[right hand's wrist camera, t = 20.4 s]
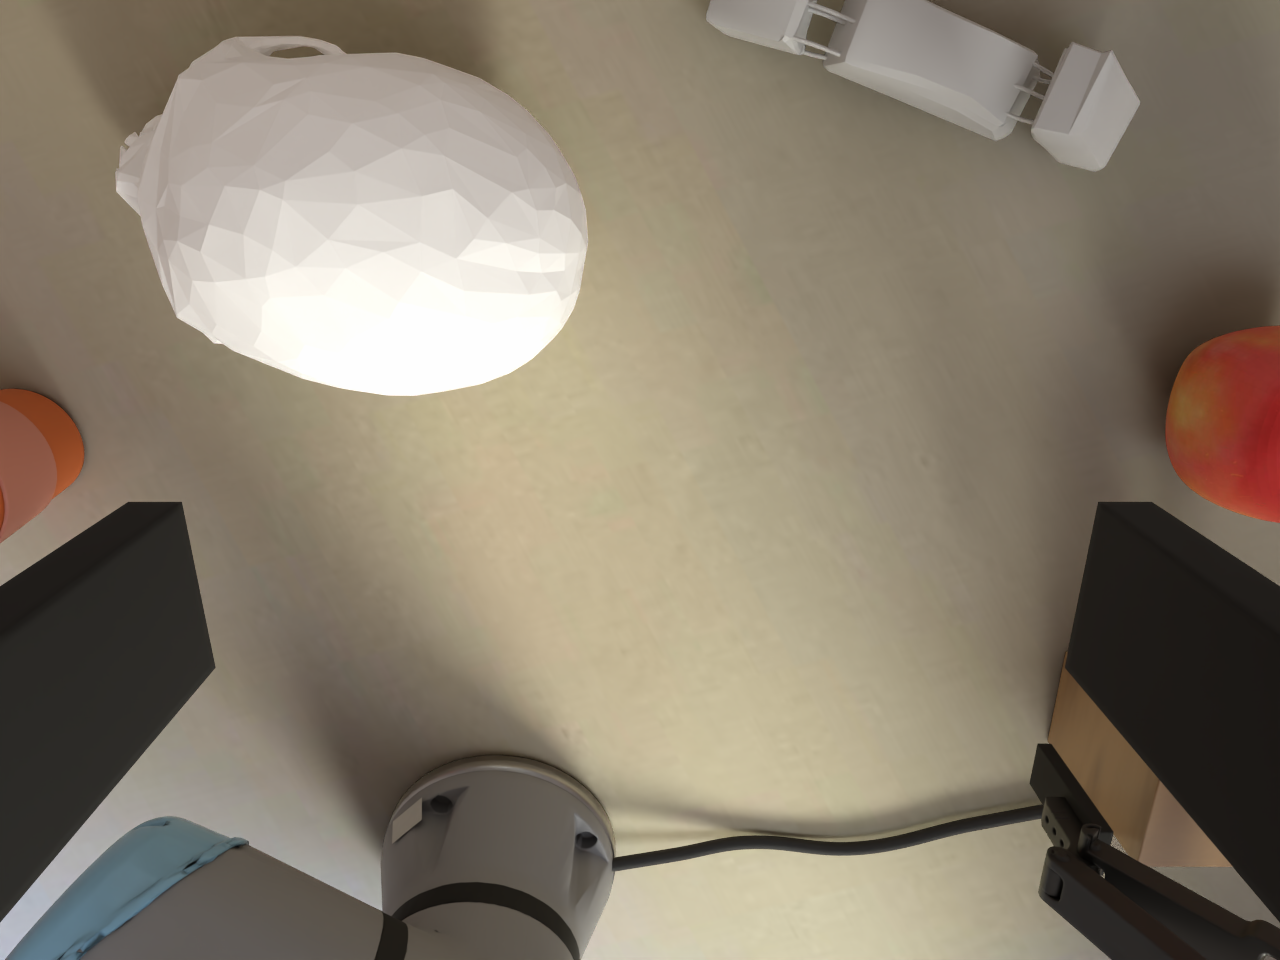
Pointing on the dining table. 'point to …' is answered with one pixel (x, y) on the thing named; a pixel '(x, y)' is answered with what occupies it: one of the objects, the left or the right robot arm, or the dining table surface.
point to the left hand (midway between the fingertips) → (1162, 763)
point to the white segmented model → (953, 69)
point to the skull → (357, 216)
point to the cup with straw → (34, 456)
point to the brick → (1125, 786)
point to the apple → (1230, 422)
